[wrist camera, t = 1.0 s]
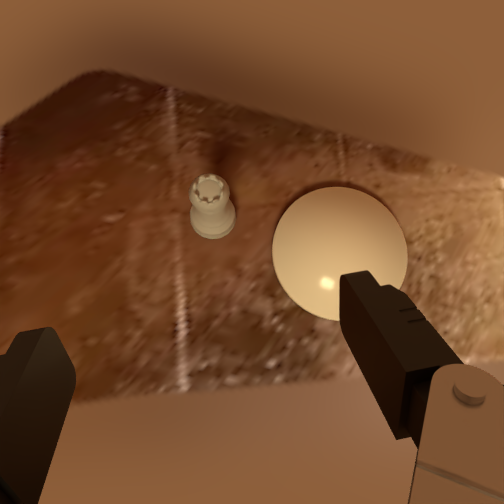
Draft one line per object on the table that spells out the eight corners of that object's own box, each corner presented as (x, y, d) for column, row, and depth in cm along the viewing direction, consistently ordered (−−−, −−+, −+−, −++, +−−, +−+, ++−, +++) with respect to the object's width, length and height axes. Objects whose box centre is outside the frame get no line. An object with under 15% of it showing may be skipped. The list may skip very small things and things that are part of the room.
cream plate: (275, 324, 35) (277, 324, 34) (267, 192, 37) (268, 188, 37) (411, 317, 36) (416, 317, 35) (394, 188, 38) (398, 185, 37)
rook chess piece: (203, 188, 37) (196, 152, 29) (244, 208, 37) (247, 176, 29) (182, 227, 36) (168, 200, 28) (223, 248, 36) (221, 226, 28)
